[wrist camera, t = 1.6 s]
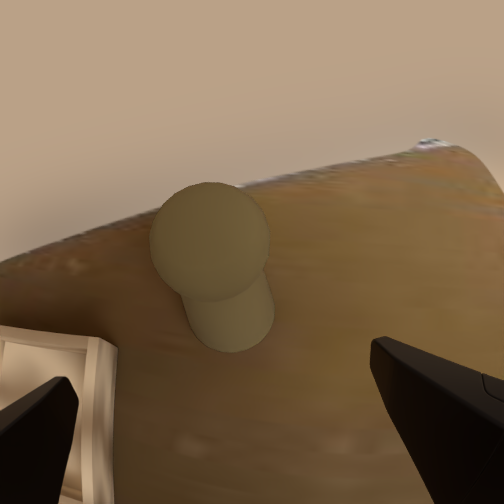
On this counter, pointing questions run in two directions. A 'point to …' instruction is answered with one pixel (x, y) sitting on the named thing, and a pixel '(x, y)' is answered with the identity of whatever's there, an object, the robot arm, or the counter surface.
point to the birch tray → (87, 389)
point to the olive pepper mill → (216, 263)
